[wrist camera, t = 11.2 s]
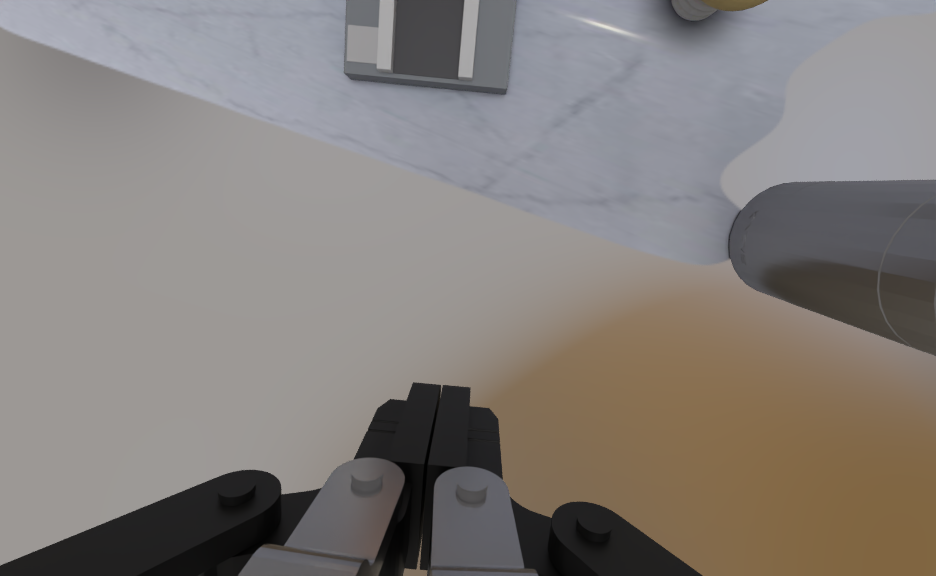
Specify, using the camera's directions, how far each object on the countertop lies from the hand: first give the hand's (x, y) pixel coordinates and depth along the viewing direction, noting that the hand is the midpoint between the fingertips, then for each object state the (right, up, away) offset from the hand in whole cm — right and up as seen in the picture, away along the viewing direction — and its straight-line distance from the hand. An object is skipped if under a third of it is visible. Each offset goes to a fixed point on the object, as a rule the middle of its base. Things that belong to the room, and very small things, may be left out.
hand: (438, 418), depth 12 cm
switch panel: (-2, +24, +22) cm, 33 cm away
